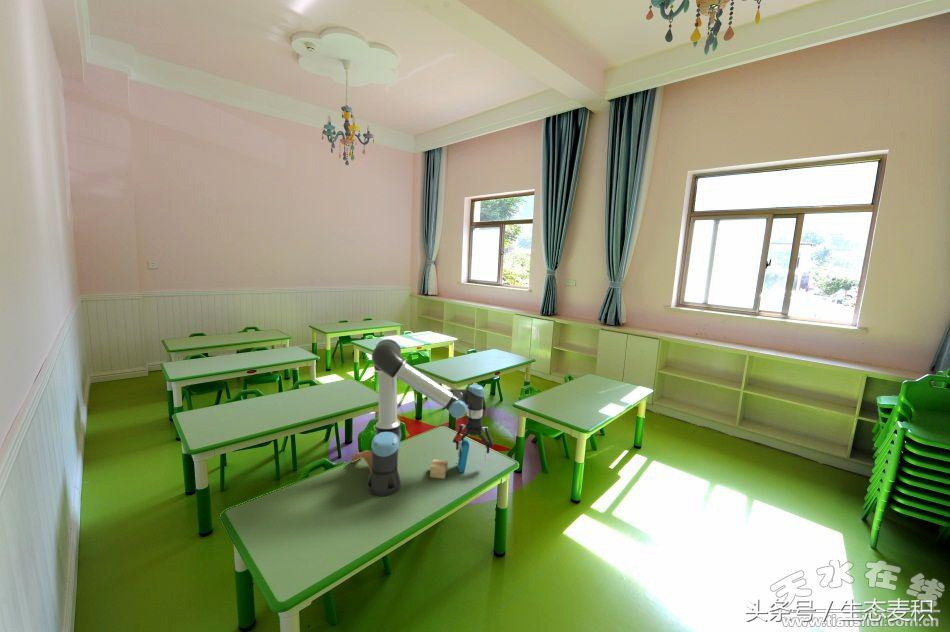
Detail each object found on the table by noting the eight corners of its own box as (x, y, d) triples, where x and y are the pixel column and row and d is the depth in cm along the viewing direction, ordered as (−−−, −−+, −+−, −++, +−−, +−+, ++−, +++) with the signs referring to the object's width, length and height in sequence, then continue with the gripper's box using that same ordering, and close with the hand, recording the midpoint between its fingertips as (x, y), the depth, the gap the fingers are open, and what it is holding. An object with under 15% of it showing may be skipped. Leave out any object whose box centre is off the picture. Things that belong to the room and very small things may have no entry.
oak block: (433, 472, 192) (433, 459, 191) (447, 474, 191) (447, 460, 190) (429, 480, 185) (430, 466, 184) (444, 482, 184) (444, 468, 183)
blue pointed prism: (448, 463, 195) (454, 430, 192) (462, 464, 196) (468, 431, 194) (450, 471, 188) (456, 437, 185) (464, 472, 190) (470, 438, 187)
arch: (372, 483, 180) (372, 463, 178) (350, 466, 193) (350, 447, 192) (383, 479, 184) (383, 459, 183) (360, 463, 197) (361, 444, 196)
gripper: (448, 416, 188) (446, 458, 191) (499, 421, 185) (496, 463, 188) (451, 411, 196) (449, 451, 198) (500, 416, 193) (497, 456, 195)
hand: (472, 457), depth 193 cm, fingers open, 13 cm apart
